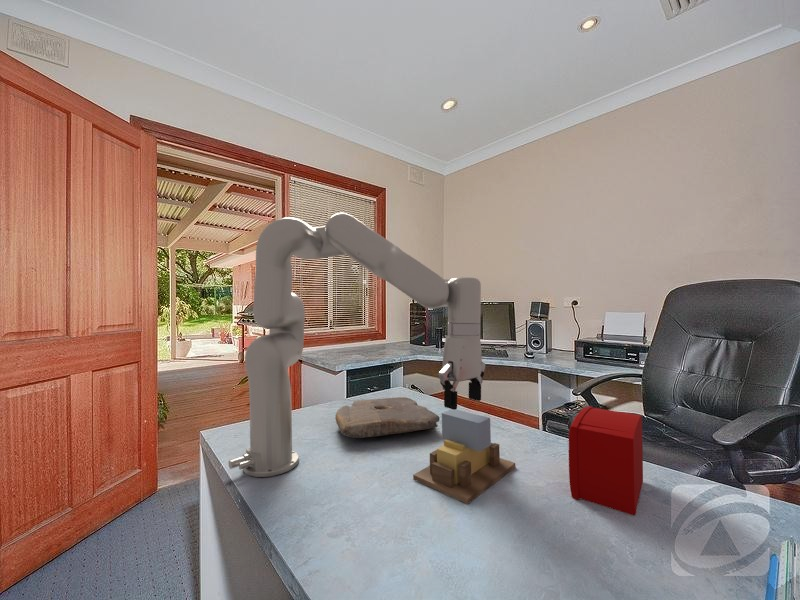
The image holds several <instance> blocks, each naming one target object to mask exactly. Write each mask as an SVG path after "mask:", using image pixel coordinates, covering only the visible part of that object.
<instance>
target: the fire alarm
mask: <svg viewBox="0 0 800 600" xmlns="http://www.w3.org/2000/svg"><path fill="white" fill-rule="evenodd" d="M643 458H644V453H643V415H641V414H635V413H630V412H623V411H617V410H610V409H605V408H598V407H594V406H592V405H591V406H590V405H589V406H585V407H583V408H582V409H581V410H580V411H578V413H577V414H576V416H574V418H573V420H572V423H571V425H570V426H569V431H568V477H569V481H568V482H569V487H570V488H569V489H570V495H571V498H572V499H573V500H577V501H579V499H580V500H582V501H586V502H589V503H593V504H596V505H599V506H602V507H606V508H609V509H612V510H615V511H617V512H621V513H625V514H627V515H632V516H634V517H636V514H637V509H638V505H639V501H640V495H641V491H642V487H643V483H644V464H643V462H644V461H643V460H644V459H643Z"/></svg>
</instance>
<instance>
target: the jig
mask: <svg viewBox="0 0 800 600" xmlns="http://www.w3.org/2000/svg"><path fill="white" fill-rule="evenodd" d="M500 455H501V454H500V444H499V443H498V442H497V443H496V442H491V445H490V446H489V459H490V462H489V463H488V464H486V465H485V466H483V467H482V468H480V469H479V470H477V471H476V472H474V473H473V474H472V475H471V462H469V461H467V460H466V461H464V462H462V463H461V464H459V478H460V483H458V484H457V485H456V484H454V469H452V468H449V467H447V466H444V465H441V464H439V463H437V449H436V450H433V451H431V452H430V453H429V465H428V466H427V467H425V468H424V467H423V469H421V470H419V471H417V472H416V473H414V474H412V475H413V476H412V477H413V478H412V479H413V480H414V481H417V482H418V483H421V484H423V485H424V486H427V487H430V488H432V489H433V490H436V491H438V492H440V493H443V494H445V495H447V496H449V497H451V498H453V499H456V500H458V501H460V502H461V503H464V504H466V505H468V504H470V503H472V501H474V500H475V499H476V498H478V497H479V496H480V495H482V494H483V493H484V492H485V491H487V490H488V489H489V488H491V487H493V485H494V484H496V483H497V482H498V481H500V480H501V479H502V478H504V477H505V476H506V475H507V474H509V473H510V472H511V471H513V470H514V469H515V468H516V462H514V461H511V460H508V459H504V458H502V457H500Z"/></svg>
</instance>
